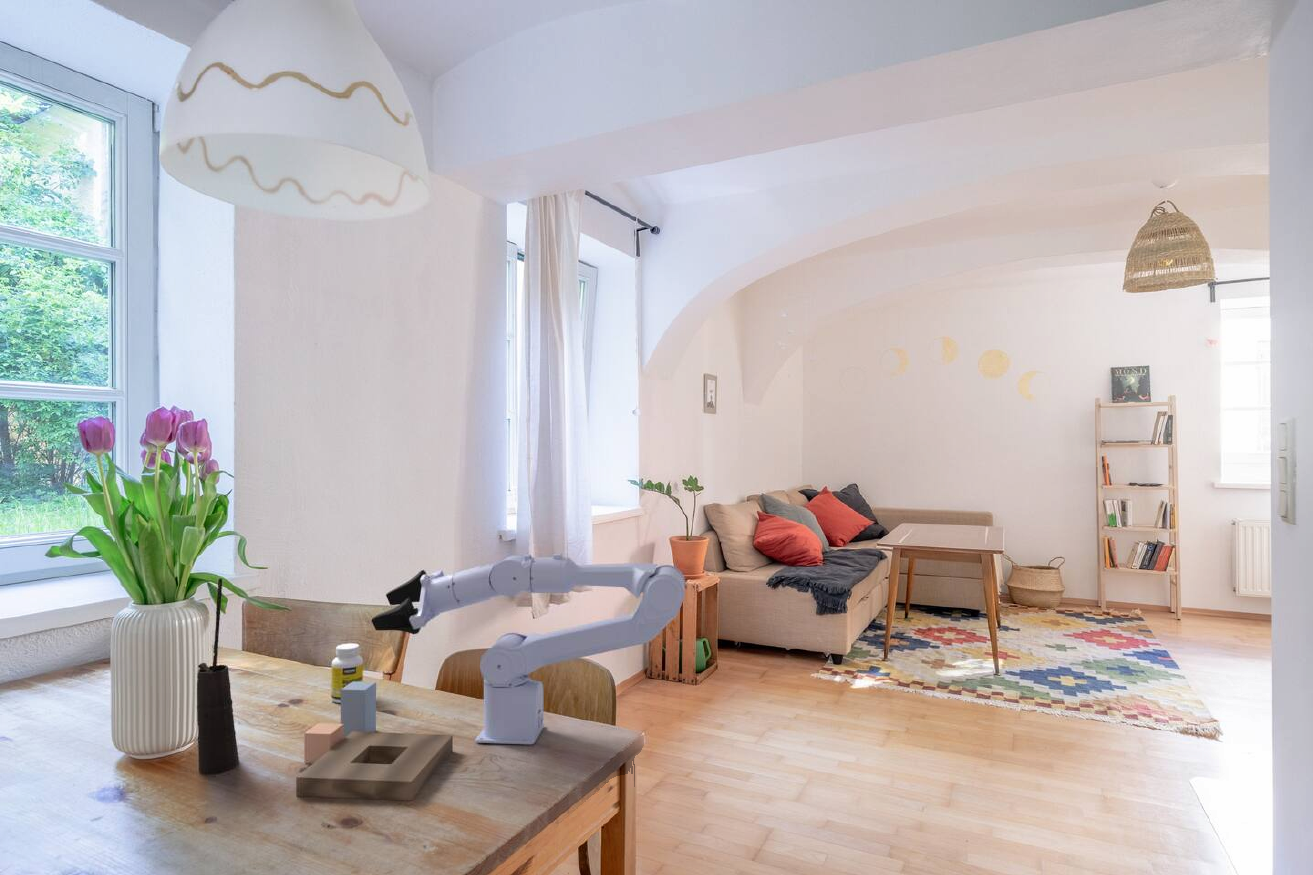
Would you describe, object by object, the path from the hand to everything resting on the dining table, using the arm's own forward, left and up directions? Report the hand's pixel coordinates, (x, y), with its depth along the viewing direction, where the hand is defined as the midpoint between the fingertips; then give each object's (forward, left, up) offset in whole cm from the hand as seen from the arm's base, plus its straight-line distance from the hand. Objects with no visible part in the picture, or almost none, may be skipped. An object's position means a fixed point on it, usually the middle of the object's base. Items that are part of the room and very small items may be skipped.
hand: (381, 611), depth 124 cm
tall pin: (+3, +2, -20) cm, 20 cm away
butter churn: (+19, +15, -20) cm, 31 cm away
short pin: (+4, +11, -20) cm, 23 cm away
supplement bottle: (+13, -14, -20) cm, 28 cm away
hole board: (-6, +15, -20) cm, 25 cm away
